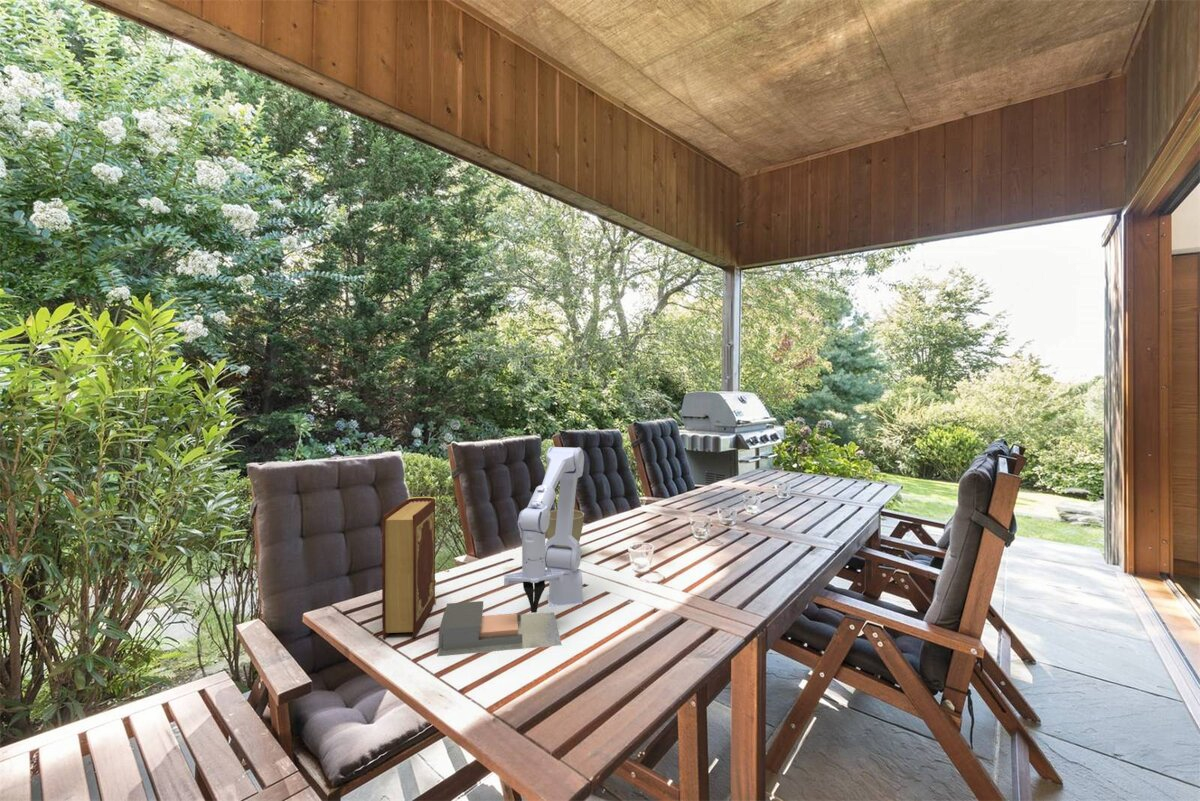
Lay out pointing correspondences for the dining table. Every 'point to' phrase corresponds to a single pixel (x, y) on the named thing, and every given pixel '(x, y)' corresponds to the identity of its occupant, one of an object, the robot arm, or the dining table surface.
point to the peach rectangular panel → (499, 625)
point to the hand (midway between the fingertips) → (533, 610)
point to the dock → (464, 636)
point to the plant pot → (576, 528)
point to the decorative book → (408, 565)
